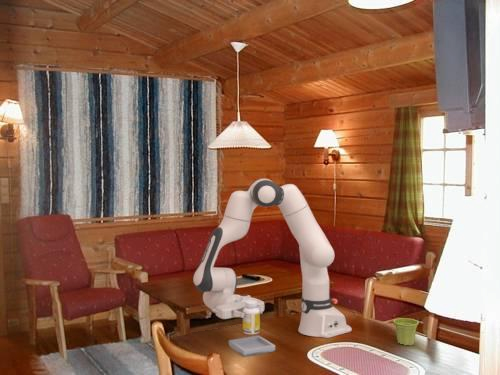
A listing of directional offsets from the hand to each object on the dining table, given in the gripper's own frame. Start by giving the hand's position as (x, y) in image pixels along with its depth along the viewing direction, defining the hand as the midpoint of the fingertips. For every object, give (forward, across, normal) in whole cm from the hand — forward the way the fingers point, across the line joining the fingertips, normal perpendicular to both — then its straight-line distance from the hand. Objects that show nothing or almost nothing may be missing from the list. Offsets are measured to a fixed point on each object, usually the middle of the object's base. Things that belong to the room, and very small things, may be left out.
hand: (252, 313), depth 203 cm
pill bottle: (-1, 0, +8) cm, 8 cm away
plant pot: (+31, +52, +13) cm, 61 cm away
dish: (-1, 0, +14) cm, 14 cm away
